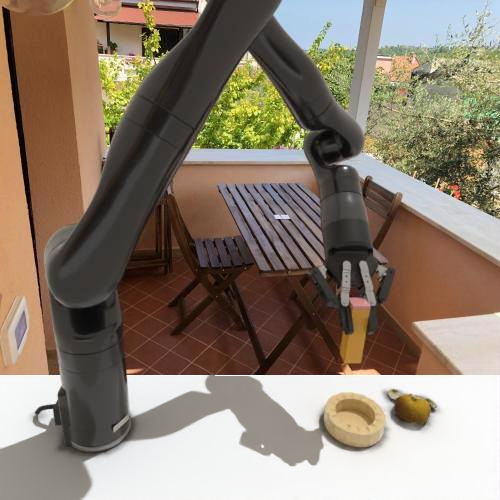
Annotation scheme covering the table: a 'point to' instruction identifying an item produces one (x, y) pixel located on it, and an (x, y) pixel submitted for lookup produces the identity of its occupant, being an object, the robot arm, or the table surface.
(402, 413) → the fruit
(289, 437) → the table surface
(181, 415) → the table surface
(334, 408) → the bowl
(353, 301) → the pencil
